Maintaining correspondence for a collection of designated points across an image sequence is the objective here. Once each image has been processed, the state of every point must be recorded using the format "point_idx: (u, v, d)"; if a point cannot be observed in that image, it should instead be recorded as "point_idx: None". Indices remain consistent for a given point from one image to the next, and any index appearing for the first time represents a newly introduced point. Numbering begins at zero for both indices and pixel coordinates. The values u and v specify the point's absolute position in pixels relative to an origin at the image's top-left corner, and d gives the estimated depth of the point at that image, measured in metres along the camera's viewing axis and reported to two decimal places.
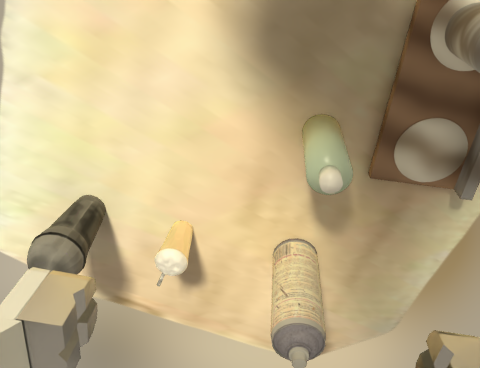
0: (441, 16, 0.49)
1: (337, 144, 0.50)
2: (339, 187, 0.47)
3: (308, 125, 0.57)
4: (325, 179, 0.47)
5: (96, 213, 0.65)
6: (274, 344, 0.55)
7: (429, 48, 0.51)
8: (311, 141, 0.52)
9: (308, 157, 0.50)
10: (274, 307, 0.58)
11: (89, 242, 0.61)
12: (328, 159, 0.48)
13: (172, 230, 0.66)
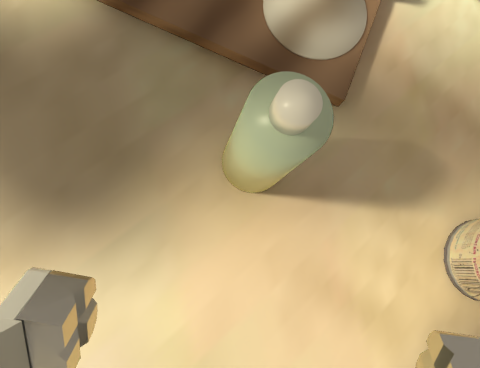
0: None
1: None
2: (311, 87, 0.23)
3: (229, 174, 0.34)
4: (287, 109, 0.22)
5: None
6: None
7: None
8: (238, 156, 0.29)
9: (254, 155, 0.26)
10: None
11: None
12: (256, 109, 0.24)
13: None
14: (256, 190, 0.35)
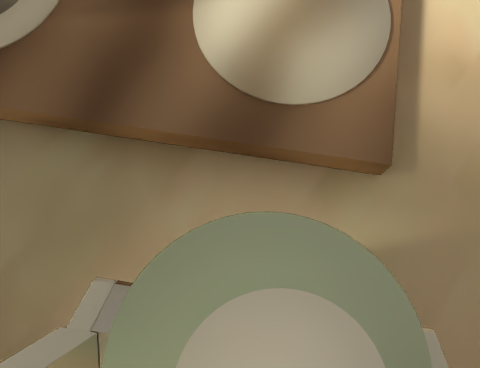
0: None
1: None
2: (317, 317, 0.05)
3: None
4: None
5: None
6: None
7: None
8: None
9: None
10: None
11: None
12: None
13: None
14: None
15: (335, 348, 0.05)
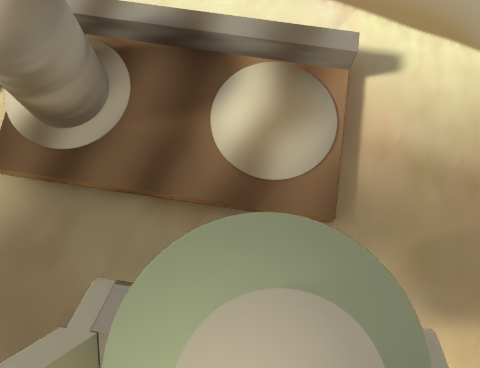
0: (38, 136, 0.31)
1: None
2: (316, 317, 0.05)
3: None
4: None
5: None
6: None
7: (88, 147, 0.31)
8: None
9: None
10: None
11: None
12: None
13: None
14: None
15: (335, 348, 0.05)
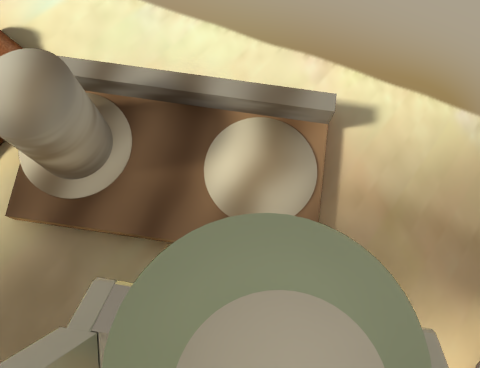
0: (49, 187, 0.35)
1: None
2: (317, 319, 0.05)
3: None
4: None
5: None
6: None
7: (94, 196, 0.35)
8: None
9: None
10: None
11: None
12: None
13: None
14: None
15: (335, 350, 0.05)
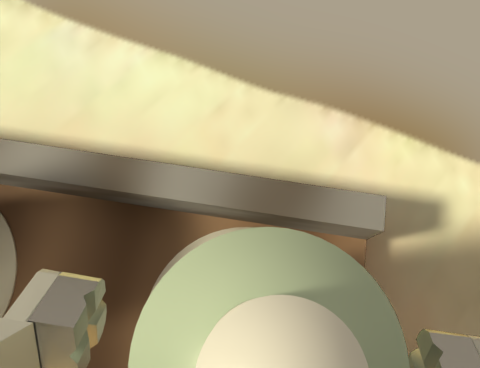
0: None
1: None
2: (311, 318, 0.06)
3: None
4: None
5: None
6: None
7: None
8: None
9: None
10: None
11: None
12: None
13: None
14: None
15: (326, 343, 0.06)
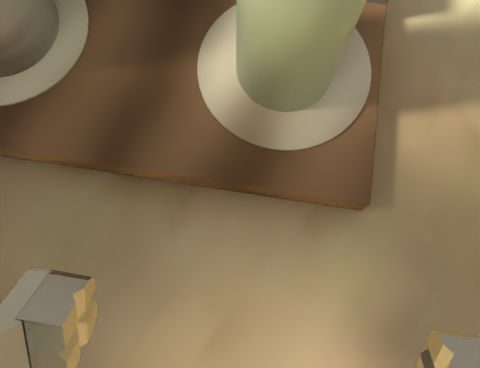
0: None
1: None
2: None
3: (252, 83, 0.21)
4: None
5: None
6: None
7: (27, 104, 0.23)
8: (255, 8, 0.16)
9: None
10: None
11: None
12: None
13: None
14: (302, 100, 0.21)
15: None
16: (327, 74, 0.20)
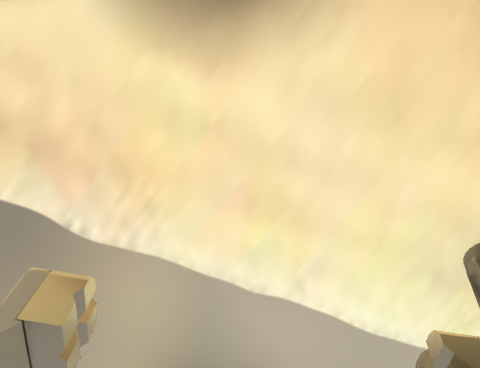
0: None
1: None
2: None
3: None
4: None
5: None
6: None
7: None
8: None
9: None
10: None
11: None
12: None
13: None
14: None
15: None
16: None
